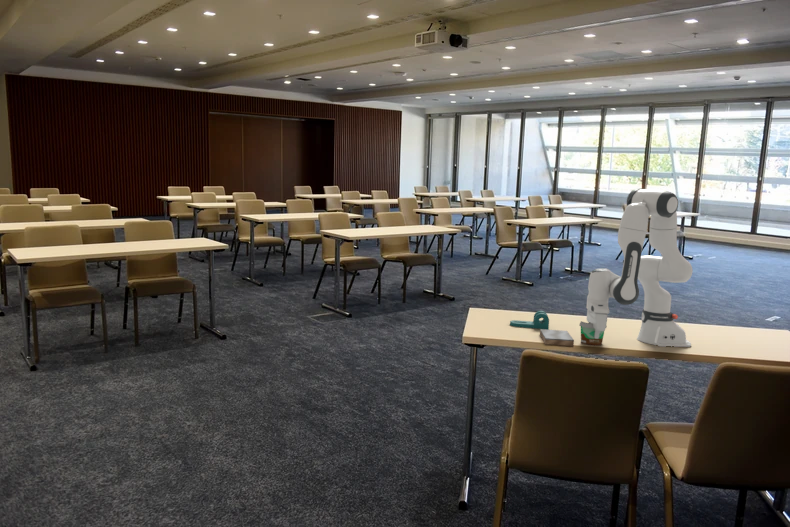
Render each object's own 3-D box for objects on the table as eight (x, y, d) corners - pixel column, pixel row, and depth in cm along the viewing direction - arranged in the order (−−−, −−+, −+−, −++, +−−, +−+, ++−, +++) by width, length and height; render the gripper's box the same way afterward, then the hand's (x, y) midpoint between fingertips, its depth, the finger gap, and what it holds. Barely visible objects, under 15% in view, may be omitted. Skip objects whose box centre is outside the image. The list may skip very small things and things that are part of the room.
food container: (585, 347, 262) (586, 324, 261) (577, 343, 268) (579, 321, 267) (610, 346, 265) (612, 324, 263) (603, 342, 271) (604, 320, 269)
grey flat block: (566, 337, 278) (566, 330, 277) (573, 346, 262) (574, 339, 262) (539, 335, 279) (540, 329, 278) (545, 345, 263) (545, 338, 263)
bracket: (547, 327, 297) (548, 311, 296) (548, 330, 290) (549, 314, 289) (509, 324, 299) (510, 308, 298) (510, 327, 293) (511, 311, 292)
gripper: (584, 300, 275) (582, 330, 277) (595, 309, 255) (592, 341, 257) (598, 301, 275) (596, 330, 277) (610, 310, 254) (607, 342, 256)
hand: (594, 336), depth 267 cm, fingers closed on food container, 6 cm apart
